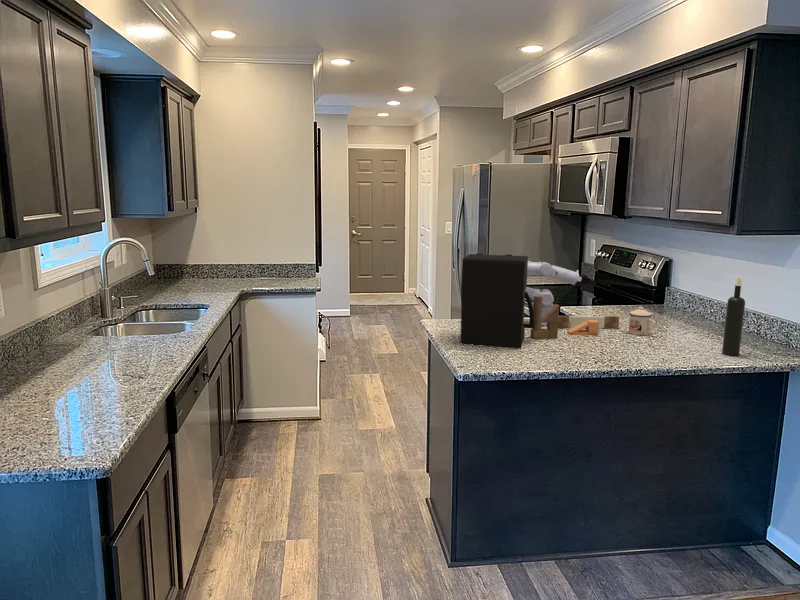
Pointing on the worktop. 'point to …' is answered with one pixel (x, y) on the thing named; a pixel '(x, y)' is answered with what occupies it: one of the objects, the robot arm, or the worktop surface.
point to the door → (580, 319)
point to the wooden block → (544, 320)
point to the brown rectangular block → (609, 323)
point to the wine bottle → (734, 322)
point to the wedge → (590, 326)
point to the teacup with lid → (640, 322)
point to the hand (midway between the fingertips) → (594, 284)
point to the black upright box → (494, 300)
